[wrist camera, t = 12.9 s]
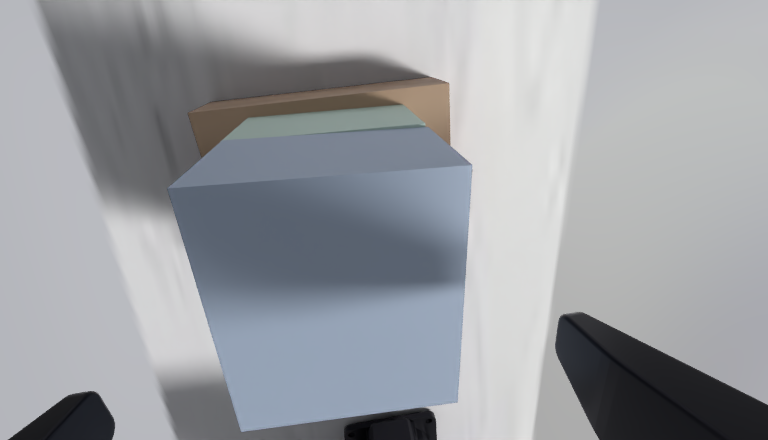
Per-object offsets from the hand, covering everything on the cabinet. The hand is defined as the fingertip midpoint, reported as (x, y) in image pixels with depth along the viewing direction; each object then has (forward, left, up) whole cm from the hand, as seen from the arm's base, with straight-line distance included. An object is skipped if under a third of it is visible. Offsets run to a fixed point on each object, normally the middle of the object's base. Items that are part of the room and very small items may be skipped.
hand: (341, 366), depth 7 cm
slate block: (0, 0, -6) cm, 6 cm away
